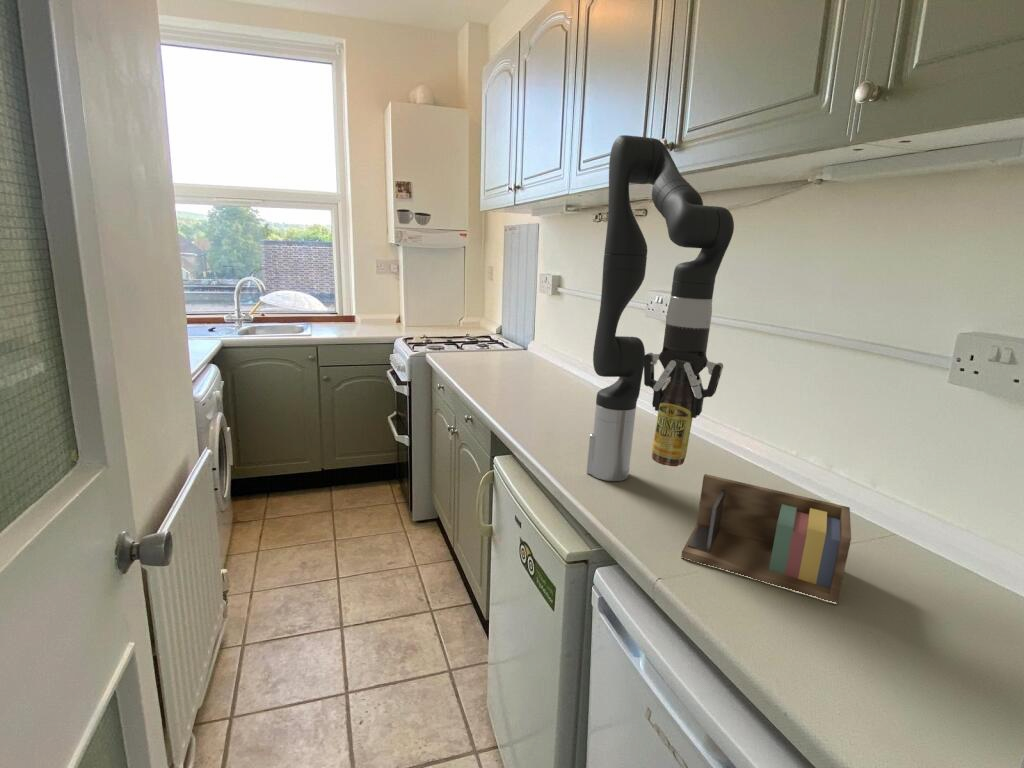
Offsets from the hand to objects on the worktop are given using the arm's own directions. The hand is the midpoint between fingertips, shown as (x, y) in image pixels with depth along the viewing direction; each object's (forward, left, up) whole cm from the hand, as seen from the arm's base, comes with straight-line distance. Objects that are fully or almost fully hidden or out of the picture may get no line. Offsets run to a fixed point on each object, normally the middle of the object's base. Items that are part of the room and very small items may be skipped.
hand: (675, 413), depth 104 cm
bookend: (+8, -3, -22) cm, 24 cm away
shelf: (+18, -3, -23) cm, 30 cm away
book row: (+24, -3, -22) cm, 33 cm away
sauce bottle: (0, 0, -10) cm, 10 cm away
